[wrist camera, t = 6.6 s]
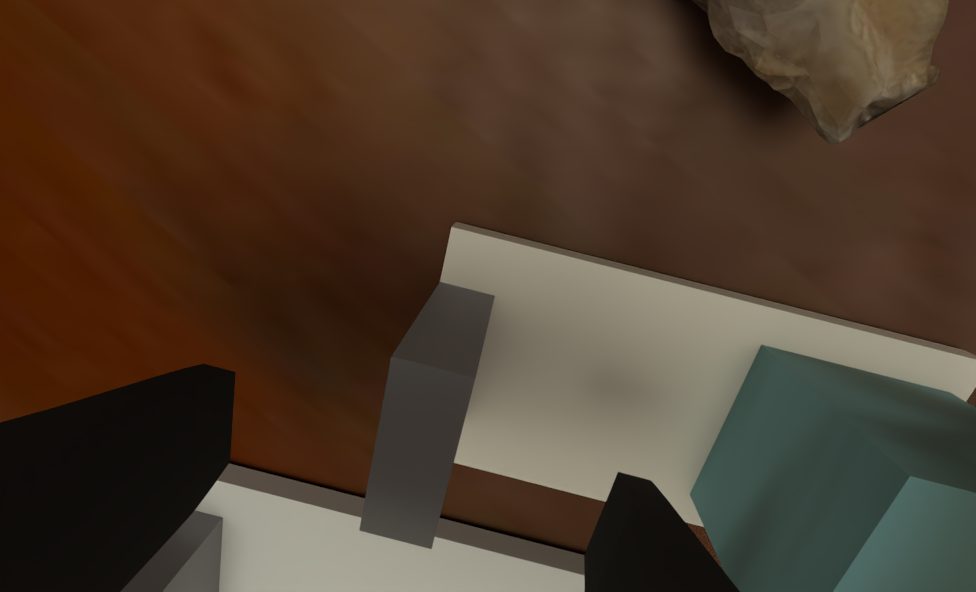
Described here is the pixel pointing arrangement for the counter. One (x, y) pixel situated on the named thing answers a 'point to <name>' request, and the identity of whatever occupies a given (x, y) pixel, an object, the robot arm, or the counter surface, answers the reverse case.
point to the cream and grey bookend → (336, 548)
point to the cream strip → (588, 376)
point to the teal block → (841, 482)
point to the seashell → (834, 53)
